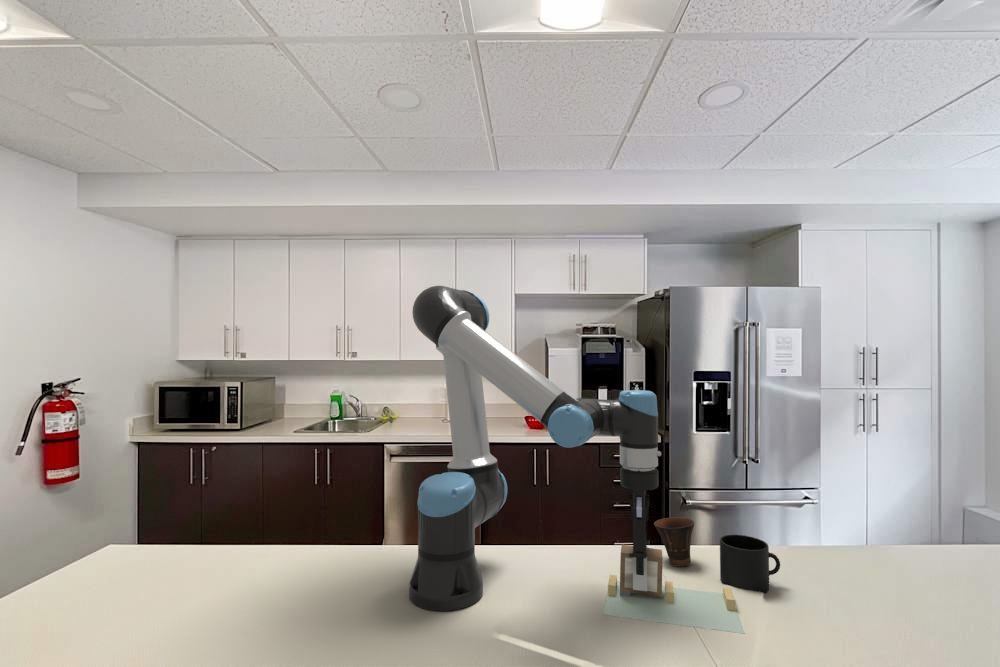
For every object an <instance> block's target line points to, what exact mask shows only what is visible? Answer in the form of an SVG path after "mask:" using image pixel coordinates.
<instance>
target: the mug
mask: <svg viewBox="0 0 1000 667" xmlns="http://www.w3.org/2000/svg"><path fill="white" fill-rule="evenodd" d="M770 558H771V559H774V560H773V561H775V567H774V568H773V569H771V570H770V560H769V559H770ZM780 568H781V562H780V559H779V558H778V556H777V555H776V554H775V553H772V552H769V545H768V543H767V542H766V541H764V540H761V539H759V538H757V537H753V536H749V535H745V534H726V535H723V536H721V537H720V538H719V572H720V574H719V576H720V582H721V584H722V585H726V586H729V587H733V588H736V589H738V590H739V589H740V590H744V591H751V592H752V591H754V592H758V593H763V594H766V593H768V591H769V590H770V576H773V575H775V574H777V573H778V572H779V570H780Z"/></svg>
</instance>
